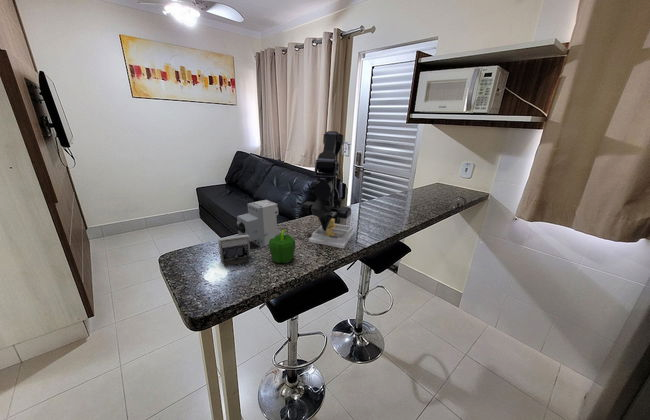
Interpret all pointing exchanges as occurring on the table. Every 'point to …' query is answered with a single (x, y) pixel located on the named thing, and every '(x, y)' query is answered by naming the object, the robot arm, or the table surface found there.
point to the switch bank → (339, 240)
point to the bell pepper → (282, 248)
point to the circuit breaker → (259, 222)
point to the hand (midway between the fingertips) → (324, 230)
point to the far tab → (332, 223)
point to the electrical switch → (234, 249)
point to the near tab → (330, 231)
